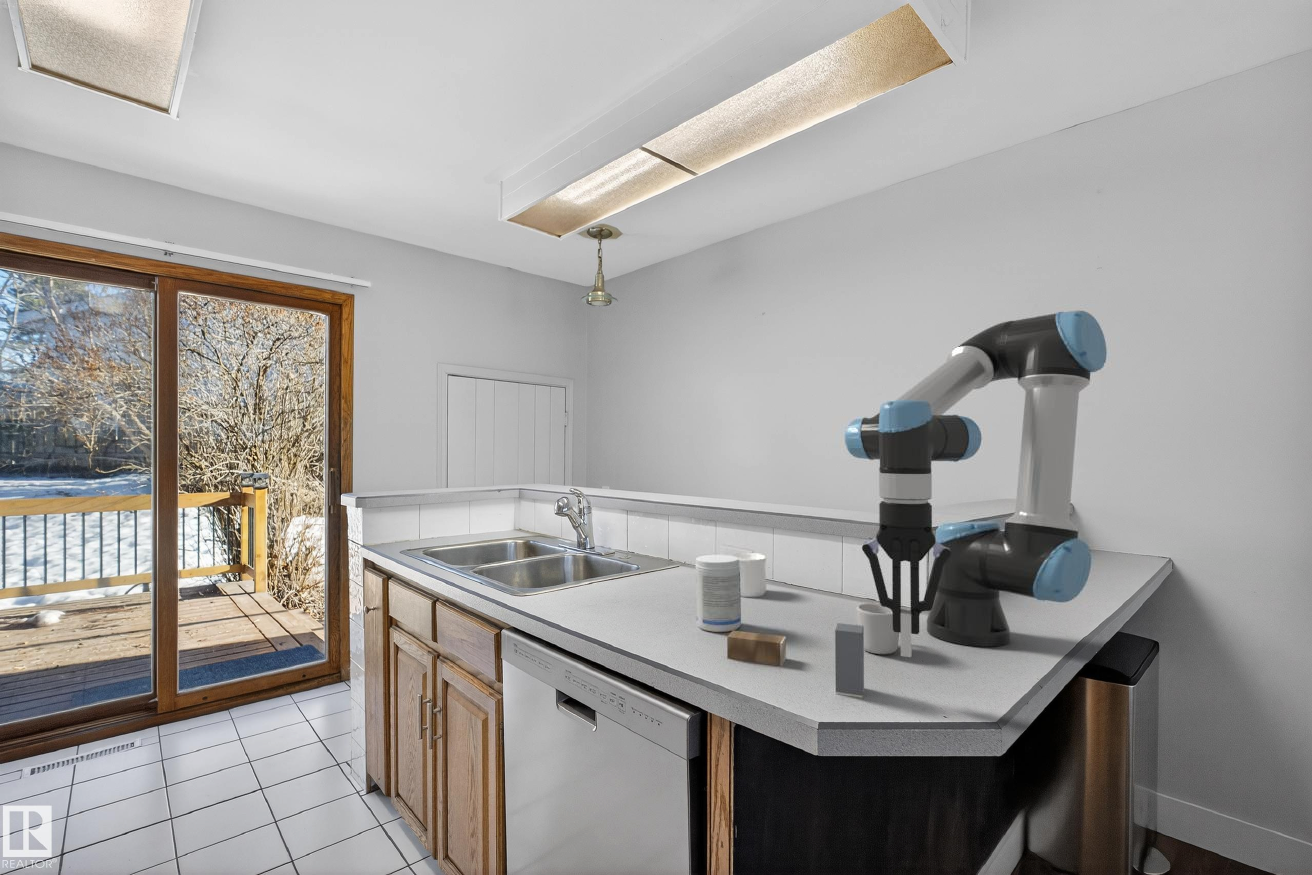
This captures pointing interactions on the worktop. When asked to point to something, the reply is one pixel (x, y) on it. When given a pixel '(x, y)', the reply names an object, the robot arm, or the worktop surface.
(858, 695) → the charcoal block
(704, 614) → the supplement tub
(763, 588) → the cup
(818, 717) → the worktop surface
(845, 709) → the worktop surface
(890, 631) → the cup
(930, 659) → the worktop surface
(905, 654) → the robot arm
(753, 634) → the walnut block
